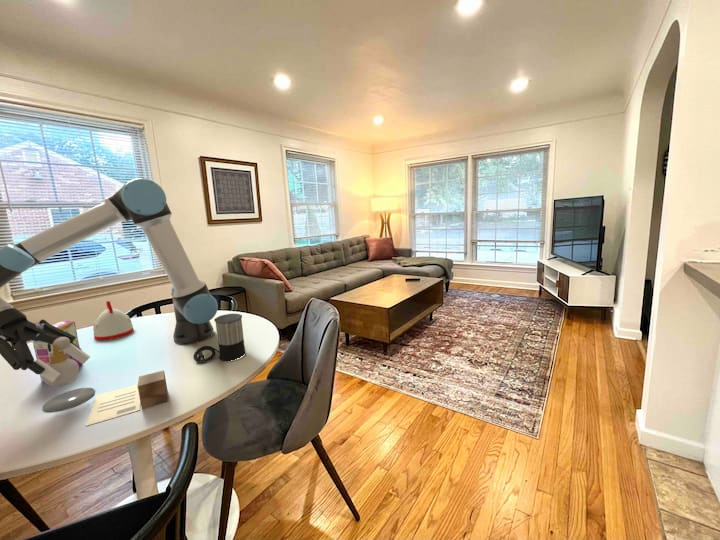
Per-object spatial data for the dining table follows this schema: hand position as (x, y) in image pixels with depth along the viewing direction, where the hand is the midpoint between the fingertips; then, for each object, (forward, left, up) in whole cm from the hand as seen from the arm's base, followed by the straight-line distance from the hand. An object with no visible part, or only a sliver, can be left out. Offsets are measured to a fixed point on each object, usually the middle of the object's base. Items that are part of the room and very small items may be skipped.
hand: (72, 368), depth 87 cm
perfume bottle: (+3, -1, -4) cm, 5 cm away
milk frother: (-38, -4, -10) cm, 40 cm away
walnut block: (-19, +14, -10) cm, 25 cm away
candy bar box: (+8, -24, -10) cm, 28 cm away
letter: (-10, +9, -10) cm, 16 cm away
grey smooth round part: (+2, -1, -10) cm, 10 cm away
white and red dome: (-2, -58, -10) cm, 59 cm away
